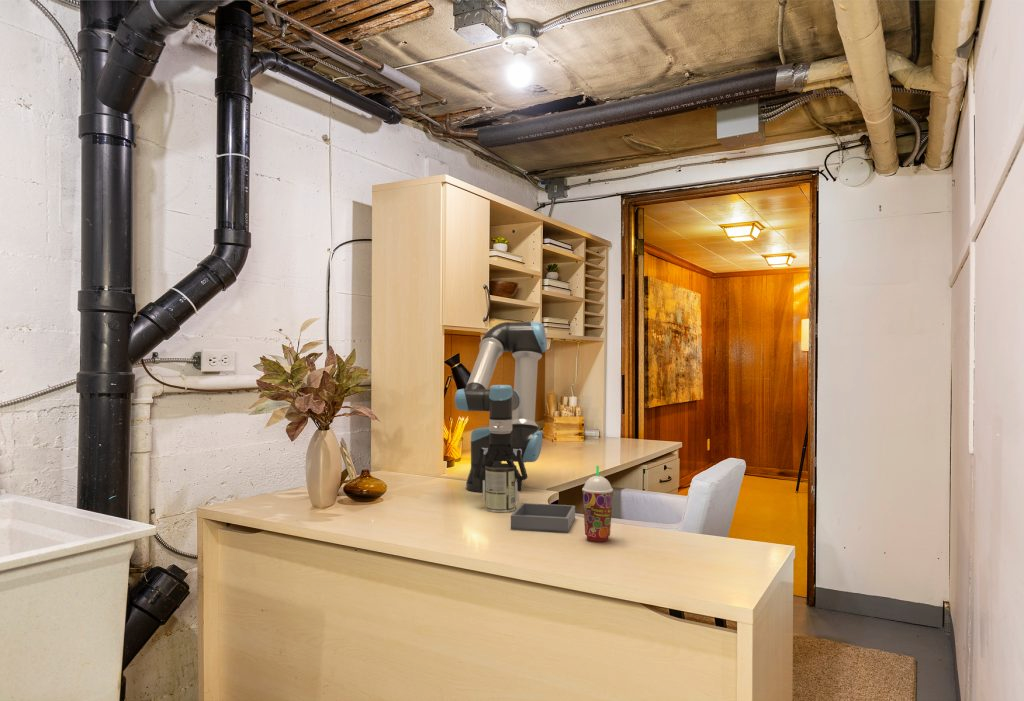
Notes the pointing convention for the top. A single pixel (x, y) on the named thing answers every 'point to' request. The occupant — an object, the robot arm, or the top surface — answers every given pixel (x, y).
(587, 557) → the top surface
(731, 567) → the top surface
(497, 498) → the coffee can
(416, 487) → the top surface
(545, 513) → the bin
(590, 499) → the smoothie
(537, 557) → the top surface
